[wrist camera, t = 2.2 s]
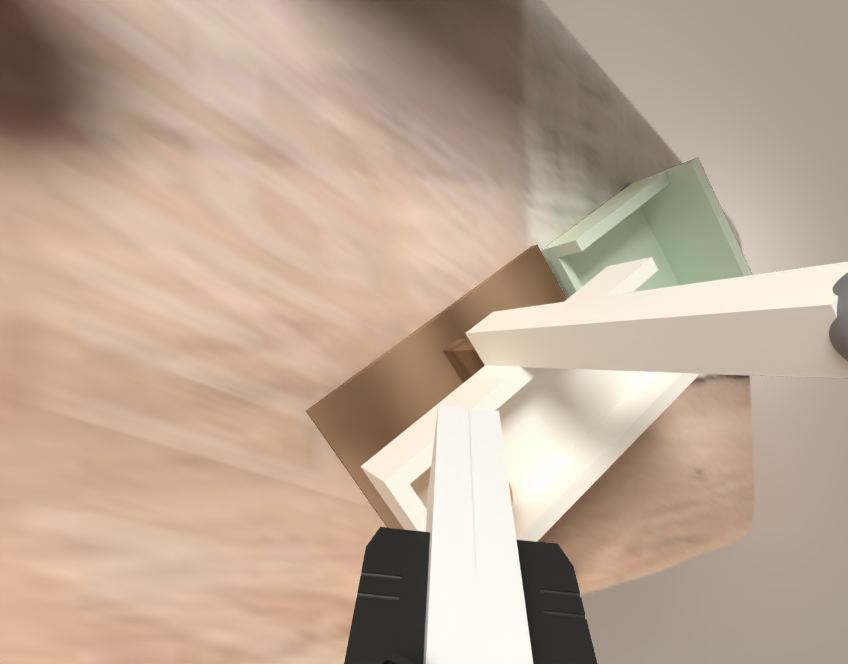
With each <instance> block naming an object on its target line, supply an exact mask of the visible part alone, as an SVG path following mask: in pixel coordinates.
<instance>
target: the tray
mask: <svg viewBox="0 0 848 664" xmlns="http://www.w3.org/2000/svg"><path fill="white" fill-rule="evenodd" d="M541 251H542V253H543V255H544V257H545V258H546V260H547V262H548V264H549V266H550V267H551V269H552V271H553V273H554V275H555V277H556V278H557V280H558V282H559V284H560V286H561V287H562V289H563V291H564V293H565V295H566V296H567V298H569V297H570V296H572V295H573V294H574V293H575V292H577V291H578V290H579V289H580V288H581V287H583V286H584V285H585V284H586V283H588V282H589V281H590V280H591V279H593V278H594V277H595V276H596V275H598V274H599V273H600V272H601V271H602V270H604V269H605V268H606V267H607V266H611V265H616V264H621V263H626V262H630V261H635V260H640V259H645V258H649V257H652V258H653V260H654V262H655V264H656V266H657V268H658V271H657V272H656V273H654V274H653V275H652V276H651V277H650V278H649V279H647V280H646V281H645V282H644V283H643V284H642V285H640V286H639V287H638V288H637V291H644V290H651V289H658V288H665V287H672V286H679V285H686V284H693V283H700V282H707V281H714V280H721V279H728V278H735V277H743V276H750V275H752V272H751V270H750V268H749V266H748V264H747V262H746V259H745V257H744V255H743V253H742V251H741V249H740V246H739V244H738V242H737V240H736V238H735V236H734V234H733V231H732V229H731V227H730V225H729V223H728V221H727V219H726V216H725V214H724V212H723V210H722V208H721V206H720V204H719V201H718V199H717V197H716V195H715V193H714V191H713V188H712V186H711V184H710V182H709V180H708V178H707V176H706V174H705V171H704V169H703V167H702V165H701V163H700V161H699V158H695V159H693V160H690V161H688V162H685V163H682V164H680V165H677V166H674V167H672V168H669V169H667V170H664V171H662V172H659V173H656V174H654V175H651V176H649V177H646V178H644V179H641V180H638V181H636V182H633V183H631V184H630V185H629V186H627V187H626V188H625V189H623V190H622V191H621V192H619V193H618V194H617V195H615V196H614V197H613V198H611V199H610V200H608V201H607V202H606V203H604V204H603V205H602V206H600V207H599V208H598V209H596V210H595V211H594V212H592V213H591V214H590V215H588V216H587V217H585V218H584V219H583V220H581V221H580V222H579V223H577V224H576V225H575V226H573V227H572V228H571V229H569V230H568V231H567V232H565V233H564V234H563V235H561V236H560V237H558V238H557V239H556V240H554V241H553V242H552V243H550V244H549V245H548V246H546V247H545V248H544V249H542V250H541Z"/></svg>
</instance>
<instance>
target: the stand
mask: <svg viewBox="0 0 848 664" xmlns="http://www.w3.org/2000/svg"><path fill="white" fill-rule="evenodd" d="M565 300H567V298H566V296H565V294H564V292H563V291H562V289H561V287H560V285H559V283H558V282H557V280H556V278H555V276H554V274H553V273H552V271H551V269H550V267H549V265H548V263H547V262H546V260H545V258H544V256H543V254H542V253H541V251H540V249H539V247H538V245H535V246H532V247H530V248H529V249H528V250H526V251H525V252H523V253H522V254H521V255H519V256H518V257H517V258H515V259H514V260H512V261H511V262H510V263H508V264H507V265H506V266H504V267H503V268H502V269H500V270H499V271H497V272H496V273H495V274H493V275H492V276H491V277H489V278H488V279H486V280H485V281H484V282H482V283H481V284H480V285H478V286H477V287H475V288H474V289H473V290H471V291H470V292H469V293H467V294H466V295H464V296H463V297H462V298H460V299H459V300H458V301H456V302H455V303H453V304H452V305H451V306H449V307H448V308H447V309H445V310H444V311H443V312H441V313H440V314H438V315H437V316H436V317H434V318H433V319H432V320H430V321H429V322H427V323H426V324H425V325H423V326H422V327H421V328H419V329H418V330H416V331H415V332H414V333H412V334H411V335H410V336H408V337H407V338H405V339H404V340H403V341H401V342H400V343H399V344H397V345H396V346H395V347H393V348H392V349H390V350H389V351H388V352H386V353H385V354H384V355H382V356H381V357H379V358H378V359H377V360H375V361H374V362H373V363H371V364H370V365H368V366H367V367H366V368H364V369H363V370H362V371H360V372H359V373H357V374H356V375H355V376H353V377H352V378H351V379H349V380H348V381H346V382H345V383H344V384H342V385H341V386H340V387H338V388H337V389H336V390H334V391H333V392H331V393H330V394H329V395H327V396H326V397H325V398H323V399H322V400H320V401H319V402H318V403H316V404H315V405H314V406H312V407H311V408H309V409H308V410H307V411H306V412H307V413H308V415H309V416H310V418H311V419H312V420H313V422H314V423H315V425H316V426H317V428H318V429H319V430H320V432H321V433H322V435H323V436H324V438H325V439H326V440H327V442H328V443H329V445H330V446H331V448H332V449H333V450H334V452H335V453H336V455H337V456H338V458H339V459H340V460H341V462H342V463H343V465H344V466H345V468H346V469H347V470H348V472H349V473H350V475H351V476H352V478H353V479H354V480H355V482H356V483H357V485H358V486H359V488H360V489H361V490H362V492H363V493H364V495H365V496H366V498H367V499H368V500H369V502H370V503H371V505H372V506H373V508H374V509H375V510H376V512H377V513H378V515H379V516H380V518H381V519H382V520H383V522H384V523H385V525H386V526H387V528H394V529H404V528H403V527H402V526H401V524H400V523H399V521H398V520H397V518H396V517H395V516H394V514H393V513H392V511H391V510H390V508H389V507H388V505H387V504H386V503H385V501H384V500H383V498H382V497H381V495H380V494H379V492H378V491H377V490H376V488H375V487H374V485H373V484H372V482H371V481H370V479H369V478H368V477H367V475H366V474H365V472H364V471H363V469H362V468H361V466H362V465H363V464H364V463H365V462H367V461H368V460H369V459H370V458H372V457H373V456H374V455H375V454H377V453H378V452H379V451H380V450H382V449H383V448H384V447H385V446H386V445H388V444H389V443H390V442H391V441H393V440H394V439H395V438H396V437H398V436H399V435H400V434H401V433H403V432H404V431H405V430H406V429H407V428H409V427H410V426H411V425H412V424H414V423H415V422H416V421H417V420H419V419H420V418H421V417H422V416H424V415H425V414H426V413H427V412H428V411H430V410H431V409H432V408H433V407H435V406H436V405H437V404H438V403H440V402H441V401H442V400H443V399H444V398H446V397H447V396H448V395H449V394H451V393H452V392H453V391H454V390H456V389H457V388H458V387H459V386H461V385H462V384H463V383H464V382H465V381H467V380H468V379H469V378H470V377H472V376H473V375H474V374H475V373H477V372H478V371H479V370H480V369H482V368H483V367H484V366H485V365H484V363H483V362H482V360H481V358H480V357H479V355H478V353H477V352H476V350H475V348H474V347H473V345H472V343H471V342H470V340H469V339H468V337H467V335H466V334H465V333H466V332H467V331H469V330H470V329H471V328H473V327H474V326H475V325H477V324H478V323H479V322H481V321H482V320H483V319H484V318H486V317H487V316H488V315H490V314H491V313H492V312H495V311H502V310H509V309H516V308H523V307H530V306H538V305H545V304H552V303H559V302H564V301H565Z"/></svg>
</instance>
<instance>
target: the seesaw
mask: <svg viewBox="0 0 848 664" xmlns="http://www.w3.org/2000/svg"><path fill="white" fill-rule="evenodd" d="M657 271H658V268H657V266H656V264H655V262H654V260H653V258H652V257H649V258H645V259H640V260H635V261H630V262H626V263H621V264H616V265H611V266H607V267H606V268H605V269H604V270H602V271H601V272H600V273H599V274H598V275H596V276H595V277H594V278H593V279H591V280H590V281H589V282H588V283H586V284H585V285H584V286H583V287H581V288H580V289H579V290H578V291H577V292H575V293H574V294H573V295H572V296H570V297H569V298H568V299H567V300H565V301H564V302H559V303H552V304H545V305H538V306H530V307H523V308H516V309H509V310H502V311H495V312H492V313H491V314H490V315H488V316H487V317H486V318H484V319H483V320H482V321H481V322H479V323H478V324H477V325H475V326H474V327H473V328H471V329H470V330H469V331H467V332H466V333H465V334H466V335H467V337H468V339H469V340H470V342H471V343H472V345H473V347H474V348H475V350H476V352H477V353H478V355H479V357H480V358H481V360H482V362H483V363H484V365H485V366H484V367H483V368H482V369H480V370H479V371H478V372H477V373H475V374H474V375H473V376H472V377H470V378H469V379H468V380H467V381H465V382H464V383H463V384H462V385H461V386H459V387H458V388H457V389H456V390H454V391H453V392H452V393H451V394H449V395H448V396H447V397H446V398H444V399H443V400H442V401H441V402H440V403H438V404H437V405H436V406H435V407H433V408H432V409H431V410H430V411H428V412H427V413H426V414H425V415H424V416H422V417H421V418H420V419H419V420H417V421H416V422H415V423H414V424H412V425H411V426H410V427H409V428H407V429H406V430H405V431H404V432H403V433H401V434H400V435H399V436H398V437H396V438H395V439H394V440H393V441H391V442H390V443H389V444H388V445H386V446H385V447H384V448H383V449H382V450H380V451H379V452H378V453H377V454H375V455H374V456H373V457H372V458H370V459H369V460H368V461H367V462H365V463H364V464H363V465H362V466H361V468H362V469H363V471H364V472H365V474H366V475H367V477H368V478H369V479H370V481H371V482H372V484H373V485H374V487H375V488H376V490H377V491H378V492H379V494H380V495H381V497H382V498H383V500H384V501H385V503H386V504H387V505H388V507H389V508H390V510H391V511H392V513H393V514H394V516H395V517H396V518H397V520H398V521H399V523H400V524H401V526H402V527H403V528H404V530H414V531H423V532H426V519H427V503H428V488H429V480H430V471H431V463H432V454H433V446H434V437H435V429H436V420H437V412H438V405H445V406H455V407H465V408H474V409H484V410H494V411H499V415H500V422H501V430H502V437H503V444H504V452H505V459H506V466H507V474H508V481H509V484H510V486H511V489H512V495H513V502H512V511H513V518H514V525H515V533H516V540H525V541H535V542H537V541H538V540H539V539H540V538H541V537H542V536H543V535H544V534H545V533H546V532H547V531H548V530H549V529H550V528H551V527H552V526H553V525H554V524H555V523H556V522H557V521H558V520H559V519H560V518H561V516H562V515H563V514H564V513H565V512H566V511H567V510H568V509H569V508H570V507H571V506H572V505H573V504H574V503H575V502H576V501H577V500H578V499H579V498H580V497H581V496H582V495H583V494H584V493H585V492H586V491H587V490H588V489H589V488H590V487H591V486H592V485H593V484H594V483H595V481H596V480H597V479H598V478H599V477H600V476H601V475H602V474H603V473H604V472H605V471H606V470H607V469H608V468H609V467H610V466H611V465H612V464H613V463H614V462H615V461H616V460H617V459H618V458H619V457H620V456H621V455H622V454H623V453H624V452H625V451H626V450H627V449H628V448H629V446H630V445H631V444H632V443H633V442H634V441H635V440H636V439H637V438H638V437H639V436H640V435H641V434H642V433H643V432H644V431H645V430H646V429H647V428H648V427H649V426H650V425H651V424H652V423H653V422H654V421H655V420H656V419H657V418H658V417H659V416H660V415H661V414H662V412H663V411H664V410H665V409H666V408H667V407H668V406H669V405H670V404H671V403H672V402H673V401H674V400H675V399H676V398H677V397H678V396H679V395H680V394H681V393H682V392H683V391H684V390H685V389H686V388H687V387H688V386H689V385H690V384H691V383H692V382H693V381H694V380H695V379H696V377H697V376H698V375H699V374H723V375H751V376H778V377H806V378H833V379H848V262H842V263H834V264H828V265H821V266H814V267H806V268H799V269H792V270H785V271H778V272H771V273H764V274H757V275H750V276H743V277H735V278H728V279H721V280H714V281H707V282H700V283H693V284H686V285H679V286H672V287H665V288H658V289H651V290H644V291H637V288H638V287H639V286H640V285H642V284H643V283H644V282H645V281H646V280H647V279H649V278H650V277H651V276H652V275H653V274H654V273H656V272H657Z"/></svg>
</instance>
